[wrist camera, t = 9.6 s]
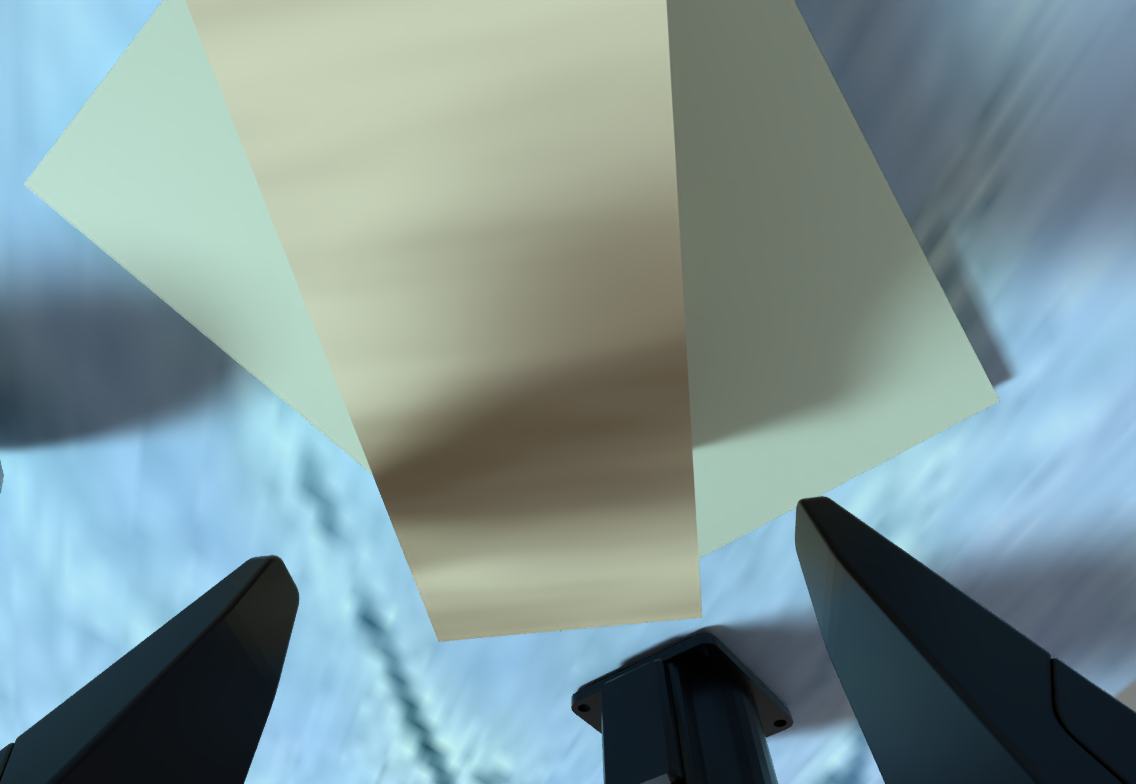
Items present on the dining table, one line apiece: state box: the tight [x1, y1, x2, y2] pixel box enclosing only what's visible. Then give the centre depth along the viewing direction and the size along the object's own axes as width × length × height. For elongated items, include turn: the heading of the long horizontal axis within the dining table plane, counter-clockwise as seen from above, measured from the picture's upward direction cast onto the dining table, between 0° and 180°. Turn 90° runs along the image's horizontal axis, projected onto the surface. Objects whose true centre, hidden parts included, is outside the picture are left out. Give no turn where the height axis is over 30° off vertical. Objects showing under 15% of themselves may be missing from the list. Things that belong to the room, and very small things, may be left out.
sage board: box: [24, 0, 1000, 631], centre depth 15 cm, size 19×15×1 cm
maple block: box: [185, 0, 702, 642], centre depth 12 cm, size 6×6×12 cm
